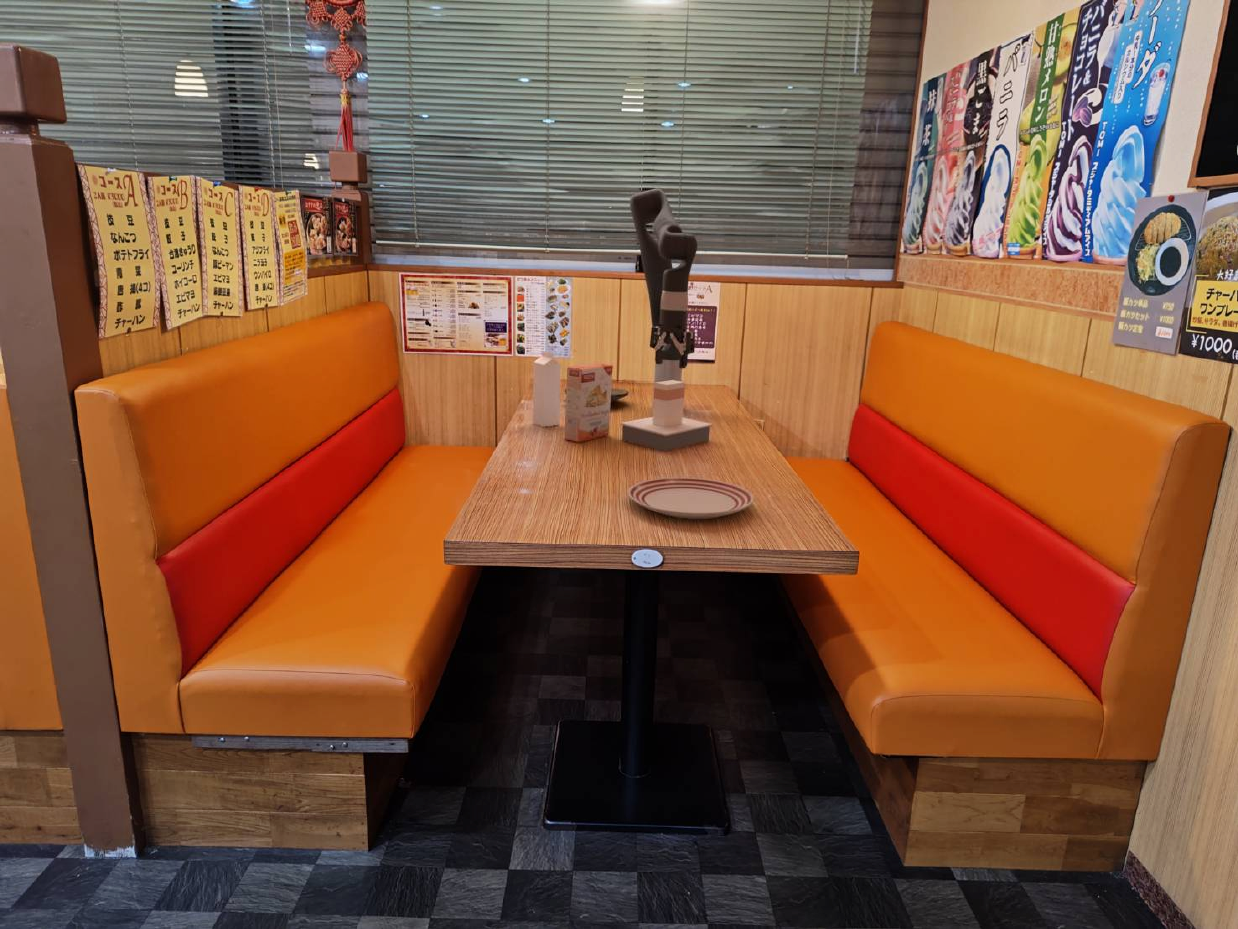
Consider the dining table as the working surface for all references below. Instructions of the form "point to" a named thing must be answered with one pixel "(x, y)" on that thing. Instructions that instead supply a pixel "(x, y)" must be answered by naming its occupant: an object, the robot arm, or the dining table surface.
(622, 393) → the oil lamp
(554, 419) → the milk
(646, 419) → the plate
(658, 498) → the dinner plate
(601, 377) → the cracker box
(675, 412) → the cream carton
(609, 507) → the dining table surface
